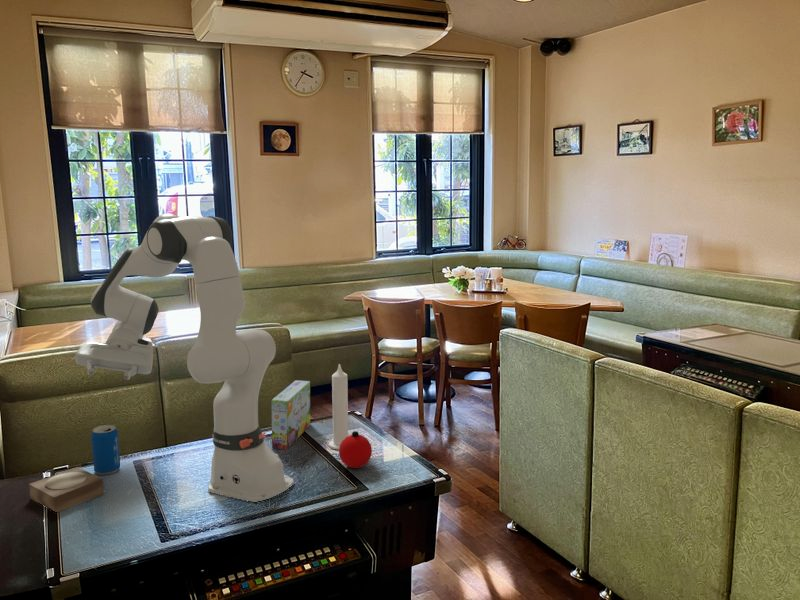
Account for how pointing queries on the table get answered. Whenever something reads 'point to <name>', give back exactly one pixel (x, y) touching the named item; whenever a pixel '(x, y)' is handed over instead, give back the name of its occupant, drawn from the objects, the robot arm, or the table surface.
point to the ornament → (355, 450)
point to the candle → (339, 408)
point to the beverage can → (105, 449)
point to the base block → (66, 489)
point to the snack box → (290, 414)
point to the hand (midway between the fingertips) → (108, 375)
